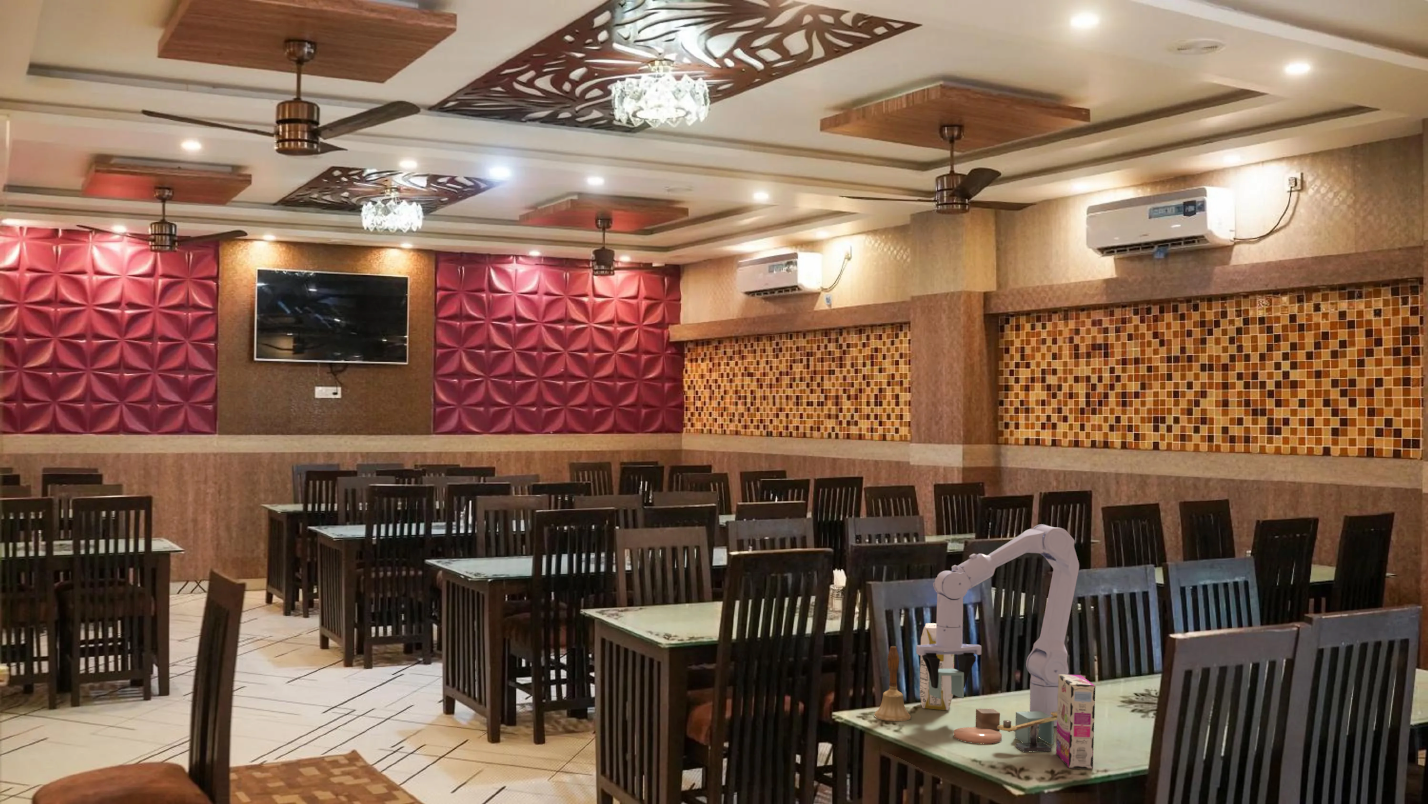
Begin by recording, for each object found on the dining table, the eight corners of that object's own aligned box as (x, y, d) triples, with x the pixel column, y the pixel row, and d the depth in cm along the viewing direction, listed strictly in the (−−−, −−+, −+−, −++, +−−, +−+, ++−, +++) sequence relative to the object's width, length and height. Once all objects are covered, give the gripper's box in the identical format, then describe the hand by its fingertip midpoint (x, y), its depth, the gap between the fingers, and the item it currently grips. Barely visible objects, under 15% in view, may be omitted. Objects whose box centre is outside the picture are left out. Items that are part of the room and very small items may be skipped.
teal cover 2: (1040, 737, 268) (1041, 711, 268) (1053, 744, 262) (1053, 717, 262) (1015, 737, 267) (1015, 711, 267) (1027, 745, 261) (1028, 718, 261)
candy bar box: (1094, 769, 243) (1096, 685, 244) (1069, 769, 243) (1070, 684, 244) (1080, 754, 254) (1081, 673, 255) (1055, 753, 255) (1056, 672, 255)
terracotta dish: (990, 731, 272) (990, 726, 272) (1009, 742, 262) (1009, 738, 262) (946, 732, 270) (946, 727, 270) (964, 744, 260) (964, 739, 260)
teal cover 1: (953, 693, 282) (953, 668, 283) (963, 698, 276) (963, 672, 277) (929, 693, 281) (929, 668, 281) (938, 698, 275) (939, 672, 276)
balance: (1064, 745, 262) (1065, 710, 262) (1073, 750, 258) (1074, 715, 258) (993, 747, 258) (994, 712, 259) (1001, 752, 255) (1002, 717, 255)
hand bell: (910, 722, 279) (911, 650, 279) (872, 719, 280) (874, 648, 281) (911, 713, 287) (913, 644, 287) (875, 711, 288) (876, 642, 289)
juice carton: (918, 709, 292) (920, 627, 292) (921, 701, 300) (923, 621, 300) (951, 711, 290) (953, 629, 290) (953, 703, 298) (955, 623, 299)
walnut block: (992, 726, 277) (993, 708, 277) (999, 731, 273) (999, 712, 273) (975, 726, 276) (975, 708, 276) (981, 731, 272) (982, 712, 272)
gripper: (973, 622, 283) (971, 682, 283) (912, 622, 281) (910, 683, 280) (985, 627, 276) (984, 689, 276) (923, 628, 274) (922, 690, 273)
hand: (948, 686), depth 278 cm, fingers closed on teal cover 1, 6 cm apart
